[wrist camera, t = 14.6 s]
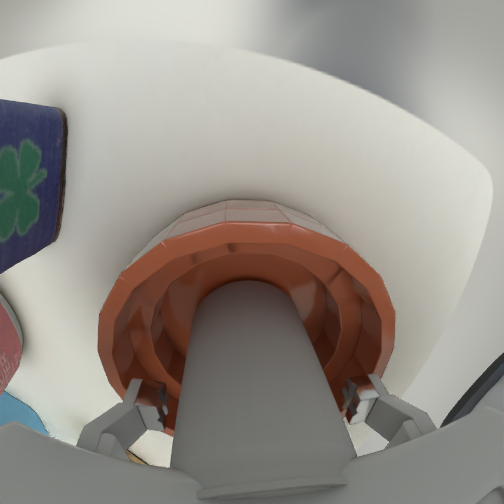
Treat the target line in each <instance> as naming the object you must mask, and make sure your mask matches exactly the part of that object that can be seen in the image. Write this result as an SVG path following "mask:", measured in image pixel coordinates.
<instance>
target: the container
mask: <svg viewBox="0 0 504 504" xmlns="http://www.w3.org/2000/svg"><path fill="white" fill-rule="evenodd" d="M22 344H23V335H22V331H21V327H20V324H19V322H18V320H17V317H16V315H15V313H14V312H13V310H12V308H11V306H10V305H9V303H8V302H7V301H6V299H5V298H4V297H3V295H2V294H1V293H0V396H1V395H2V393H3V392H4V390H5V388H6V387H7V385H8V383H9V382H10V380H11V378H12V377H13V375H14V374H15V372H16V371H17V369H18V367H19V364H20V359H21V353H22V349H21V347H22Z"/></svg>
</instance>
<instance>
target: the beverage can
mask: <svg viewBox="0 0 504 504" xmlns="http://www.w3.org/2000/svg"><path fill="white" fill-rule="evenodd" d="M355 457H357V454H356V451H355V449H354V446H353V444H352V441H351V439H350V436H349V434H348V431H347V429H346V426H345V424H344V421H343V419H342V416H341V414H340V411H339V409H338V406H337V404H336V401H335V399H334V396H333V394H332V391H331V389H330V386H329V384H328V382H327V379H326V377H325V374H324V372H323V370H322V367H321V365H320V362H319V360H318V358H317V355H316V353H315V350H314V348H313V346H312V343H311V341H310V338H309V336H308V334H307V331H306V329H305V327H304V324H303V322H302V320H301V317H300V315H299V313H298V310H297V308H296V306H295V304H294V303H293V301H292V300H291V299H290V297H289V296H288V295H287V294H285V293H284V292H283V291H282V290H280V289H279V288H277V287H275V286H273V285H270V284H268V283H264V282H260V281H252V280H245V281H236V282H232V283H228V284H226V285H223V286H221V287H219V288H217V289H216V290H214V291H213V292H211V293H210V294H209V295H207V296H206V297H205V298H204V299H203V301H202V302H201V303H200V305H199V306H198V308H197V310H196V312H195V315H194V319H193V324H192V329H191V334H190V340H189V345H188V351H187V356H186V362H185V367H184V373H183V379H182V385H181V391H180V397H179V404H178V410H177V417H176V424H175V431H174V438H173V446H172V454H171V462H170V468H174V469H180V470H182V471H184V472H186V473H187V474H189V475H190V476H191V477H192V478H194V479H195V480H196V481H197V482H198V483H199V484H200V485H201V487H202V489H201V490H200V491H197V499H211V498H218V499H242V498H271V497H281V496H289V495H297V494H303V493H309V492H315V491H320V490H325V489H329V488H331V486H343V485H349V484H348V481H347V478H343V477H342V476H341V473H342V471H343V469H344V467H345V466H346V465H347V463H348V462H349V461H350V460H351V459H352V458H355Z"/></svg>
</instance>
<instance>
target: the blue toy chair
mask: <svg viewBox="0 0 504 504" xmlns="http://www.w3.org/2000/svg"><path fill="white" fill-rule="evenodd" d="M12 421H17V422H20V423H22V424H24V425H26V426H28V427H30V428H32V429H34V430H37V431H39V432H41V433H43V434H46V435H48V433H47V431H46V429H45V427H44V425H43V424H42V422H41V420H40V418H39V416H38V415H37V414H36V413H35V412H34V411H33V410H32V409H31V408H30V407H29V406H27V405H26V404H24V403H22V402H21V401H19V400H17V399H16V398H14V397H13V396H11V395H9V394H8V393H6V392H5V391H4V392H3V393H2V395H1V396H0V426H1V425H3V424H6V423H8V422H12ZM48 436H49V435H48Z"/></svg>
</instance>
